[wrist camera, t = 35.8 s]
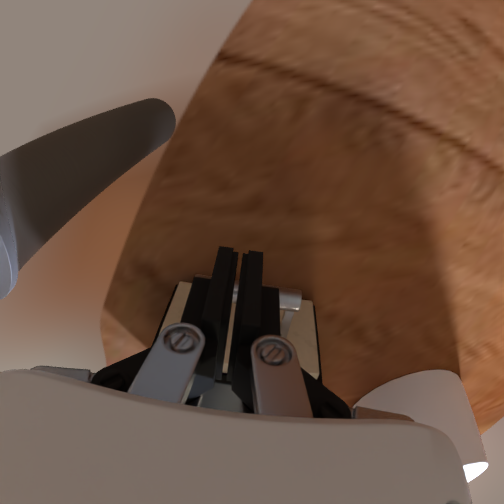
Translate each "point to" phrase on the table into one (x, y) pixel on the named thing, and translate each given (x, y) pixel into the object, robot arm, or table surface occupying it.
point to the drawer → (291, 322)
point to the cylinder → (434, 411)
